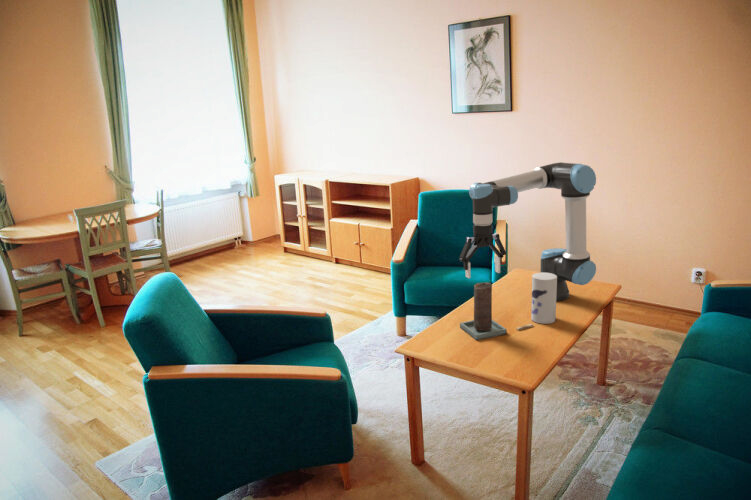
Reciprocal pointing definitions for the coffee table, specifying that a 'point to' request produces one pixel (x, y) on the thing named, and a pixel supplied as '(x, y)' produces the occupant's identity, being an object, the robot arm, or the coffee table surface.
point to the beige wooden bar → (524, 327)
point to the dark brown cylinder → (483, 306)
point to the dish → (482, 334)
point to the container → (544, 297)
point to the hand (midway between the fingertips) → (482, 274)
